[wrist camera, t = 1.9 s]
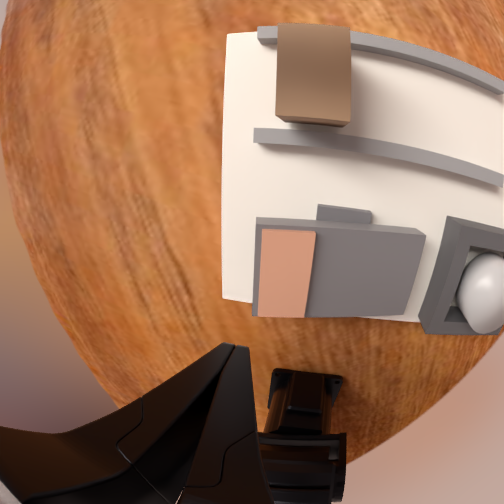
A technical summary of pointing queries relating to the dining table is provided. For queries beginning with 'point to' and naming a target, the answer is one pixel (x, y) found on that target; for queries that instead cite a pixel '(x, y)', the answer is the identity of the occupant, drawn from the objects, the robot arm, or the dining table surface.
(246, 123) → the panel
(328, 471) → the robot arm
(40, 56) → the dining table surface
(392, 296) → the rocker switch
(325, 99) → the slider knob
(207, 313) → the dining table surface
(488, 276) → the push button
